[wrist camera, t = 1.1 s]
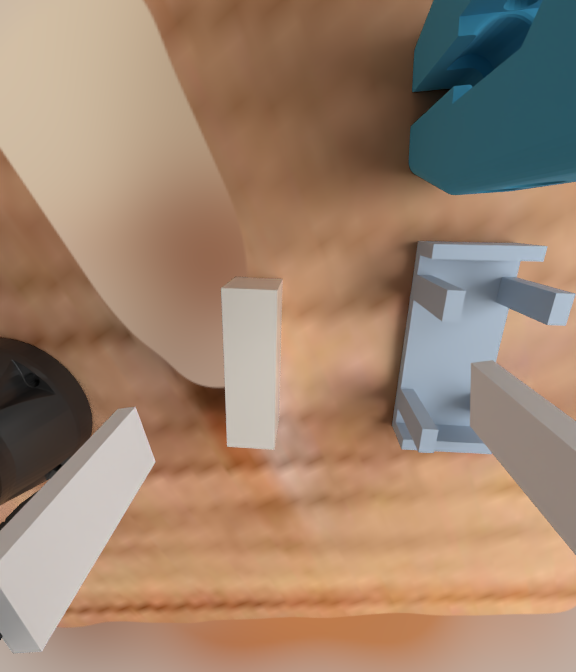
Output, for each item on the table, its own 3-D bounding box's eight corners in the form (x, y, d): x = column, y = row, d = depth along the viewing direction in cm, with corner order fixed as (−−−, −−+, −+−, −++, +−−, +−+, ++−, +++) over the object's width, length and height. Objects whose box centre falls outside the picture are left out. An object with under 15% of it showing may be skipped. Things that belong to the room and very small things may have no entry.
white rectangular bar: (279, 416, 32) (274, 449, 28) (239, 413, 33) (227, 446, 28) (282, 278, 28) (277, 290, 23) (235, 276, 28) (221, 287, 23)
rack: (472, 429, 31) (516, 485, 25) (391, 425, 32) (413, 479, 25) (516, 243, 26) (588, 250, 19) (418, 241, 26) (455, 248, 19)
